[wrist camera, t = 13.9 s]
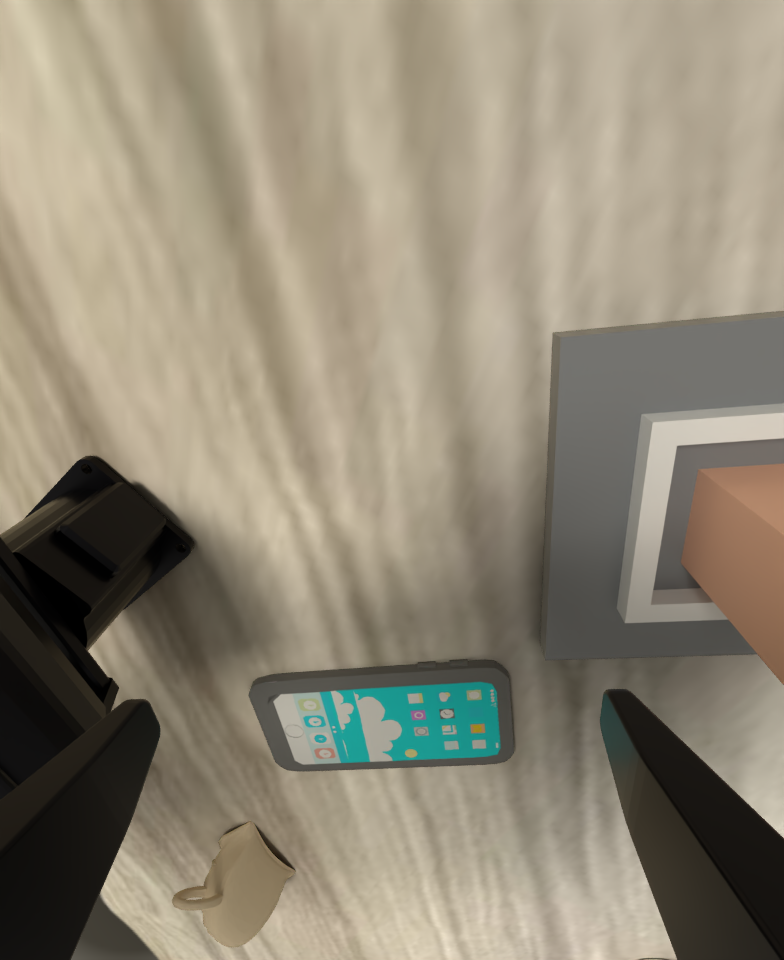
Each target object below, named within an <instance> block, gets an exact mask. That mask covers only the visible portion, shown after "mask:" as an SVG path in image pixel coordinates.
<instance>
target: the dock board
mask: <svg viewBox="0 0 784 960" xmlns="http://www.w3.org/2000/svg"><path fill="white" fill-rule="evenodd" d="M770 464H784V311H778V312H767V313H757V314H746V315H735V316H725V317H714V318H704V319H693V320H682V321H672V322H661V323H650V324H640V325H629V326H619V327H608V328H597V329H587V330H576V331H565V332H555V333H553V340H552V364H551V388H550V413H549V437H548V461H547V485H546V509H545V533H544V557H543V582H542V606H541V630H540V645H541V648H542V651H543V655H544V658H545V660H572V659H608V658H643V657H678V656H713V655H748V654H757V653H756V652H755V650H754V649H753V648H752V647H751V646H750V645H749V643H748V642H747V641H746V640H745V639H744V637H743V636H742V635H741V634H740V633H739V631H738V630H737V629H736V628H735V627H734V626H733V624H732V623H731V622H730V621H729V620H728V618H727V617H726V616H725V615H724V614H723V612H722V611H721V610H720V609H719V608H718V607H717V605H716V604H715V603H714V602H713V601H712V599H711V598H710V597H709V596H708V595H707V593H706V592H705V591H704V590H703V589H702V588H701V586H700V585H699V584H698V583H697V582H696V580H695V579H694V578H693V577H692V576H691V574H690V573H689V572H688V571H687V570H686V569H685V567H684V566H683V565H682V564H681V559H682V553H683V548H684V543H685V537H686V532H687V527H688V521H689V516H690V511H691V506H692V500H693V495H694V490H695V484H696V479H697V474H698V469H709V468H724V467H739V466H754V465H770Z"/></svg>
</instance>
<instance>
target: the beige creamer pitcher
mask: <svg viewBox="0 0 784 960" xmlns="http://www.w3.org/2000/svg"><path fill="white" fill-rule="evenodd" d="M218 843H219V844H220V848H221V851H220V852H219V854H218V855H217V857H216V859H214V860H213V861H212V867H211V869H210V871H209V873H208V875H207V877H206V879H205V882H204V886H197V887H192V888H187V889H184V890H182V891H179V892H178V893H176V894H175V895H174V897H173V899H172V903H173V905H174V906H175V907H176V908H178V909H181V910H202V912H203V924H204V926H205V927H206V928H207V931H208V933H209V934H210V935H211V936H212V937H214V939H215V940H216V941H217V942H219V943H221V944H222V945H224V946H227V947H239V946H241V945H243V944H246V943H247V942H248V941H249V940H251V939H252V938H253V937H254V936H255V935H256V934H257V933H258V932H259V931H260V929H261V928H262V927H263V926H264V924H265V923H266V922H267V920H268V919H269V917H270V915H271V914H272V912H273V910H274V908H275V907H276V905H277V902H278V900H279V897H280V895H281V892H282V890H283V887H284V884H285V882H286V880H287V879H288V878H290V877H291V876H293V875H294V874H295V872H296V871H295V870H293V869H291V868H290V867H288V866H286V865H285V864H283V863H282V862H281V861H280V860H279V859H278V858H277V857H276V856H274V855H273V853H272V852H271V851H270V850H269V849H268V847H267V846H266V844H265V843H264V841H263V839H262V838H261V836H260V834H259V832H258V830H257V828H256V826H255V825H254V823H252V822H251V821H250V822H248V823H246V824H244V825H242V826H241V827H239V828H237V829H235V830H233V831H231V832H229V833H228V834H225V835H223V836H222V837H221V838H220V841H219V842H218ZM193 897H202V899H198V900H186V899H188V898H193Z"/></svg>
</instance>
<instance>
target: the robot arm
mask: <svg viewBox="0 0 784 960" xmlns="http://www.w3.org/2000/svg"><path fill="white" fill-rule="evenodd" d="M87 465H89V466H90V467H91V468H92V470H90V469H89V468H88V467H87ZM180 544H182V545H184V546H185V548H183V547H181V546H180ZM193 549H194V542H193V541H192V540H191V538H189V537H188V536H187V535H186V534H185V533H184V532H182V531H181V530H180V529H179V528H178V527H177V526H175V525H174V524H173V523H172V522H171V521H170V520H168V519H167V518H166V517H165V516H164V515H163V514H161V513H160V512H159V511H158V510H157V509H156V508H154V507H153V506H152V505H151V504H150V503H148V502H147V501H146V500H145V499H144V498H143V497H141V496H140V495H139V494H138V493H137V492H136V491H134V490H133V489H132V488H131V487H130V486H129V485H127V484H126V483H125V482H124V481H123V480H122V479H120V478H119V477H118V476H117V475H116V474H115V473H113V472H112V471H111V470H110V469H109V468H108V467H106V466H105V465H104V464H103V463H102V462H101V461H99V460H98V459H97V458H95V457H93V456H85V457H84V458H82V459H80V460H79V461H77V462H76V463H75V464H74V465H73V466H72V468H71V469H70V470H69V471H68V472H67V473H66V474H65V475H64V476H63V477H62V478H61V479H60V480H59V482H58V483H57V484H56V485H55V486H54V487H53V488H52V489H51V490H50V491H49V492H48V493H47V495H46V496H45V497H44V498H43V499H42V500H41V501H40V502H39V503H38V504H37V505H36V506H35V507H34V509H33V510H32V511H31V512H30V513H29V514H28V515H27V516H26V517H25V518H24V519H23V520H22V521H20V522H19V523H17V524H16V525H14V526H13V527H11V528H10V529H8V530H7V531H5V532H4V533H2V534H1V535H0V960H71V958H72V956H73V953H74V951H75V949H76V947H77V944H78V942H79V940H80V937H81V935H82V933H83V931H84V928H85V926H86V923H87V921H88V919H89V917H90V914H91V912H92V910H93V908H94V905H95V903H96V901H97V899H98V896H99V894H100V892H101V889H102V887H103V885H104V883H105V880H106V878H107V876H108V873H109V871H110V869H111V866H112V864H113V862H114V860H115V857H116V855H117V853H118V850H119V848H120V846H121V844H122V841H123V839H124V837H125V834H126V832H127V830H128V827H129V825H130V822H131V820H132V817H133V814H134V812H135V809H136V806H137V803H138V800H139V797H140V794H141V791H142V788H143V786H144V783H145V780H146V777H147V774H148V771H149V768H150V765H151V762H152V759H153V756H154V753H155V750H156V747H157V744H158V741H159V738H160V725H159V722H158V720H157V718H156V715H155V713H154V711H153V709H152V707H151V704H150V703H149V701H147V700H146V699H131V700H126V701H124V702H123V703H121V704H120V705H119V706H118V707H116V708H115V709H114V710H112V711H111V709H112V707H113V704H114V701H115V698H116V695H117V692H118V690H119V687H118V685H117V684H116V683H115V681H114V680H113V679H112V678H108V677H107V675H106V674H105V673H104V672H103V670H102V669H101V668H100V666H99V665H98V664H97V662H96V661H95V660H94V658H93V657H92V656H91V655H90V653H89V652H88V650H89V649H90V648H91V646H92V645H93V644H94V643H95V642H96V641H97V639H98V638H99V637H100V636H101V635H102V633H103V632H104V631H105V630H106V629H107V628H108V626H109V625H110V624H111V623H112V622H113V621H114V619H115V618H116V617H117V616H118V615H119V613H120V612H121V611H122V610H124V609H125V608H126V607H128V606H129V605H130V604H131V603H132V602H134V601H135V600H136V599H137V598H138V597H139V596H141V595H142V594H143V593H144V592H145V591H147V590H148V589H149V588H150V587H151V586H153V585H154V584H155V583H156V582H157V581H158V580H160V579H161V578H162V577H163V576H164V575H166V574H167V573H168V572H169V571H170V570H172V569H173V568H174V567H175V566H176V565H177V564H179V563H180V562H181V561H182V560H183V559H185V558H186V557H187V556H188V555H189V554H190V553H191V551H192V550H193ZM600 725H601V731H602V736H603V739H604V743H605V747H606V750H607V754H608V758H609V761H610V765H611V769H612V773H613V776H614V780H615V784H616V787H617V791H618V795H619V799H620V802H621V806H622V810H623V813H624V817H625V820H626V823H627V826H628V829H629V832H630V835H631V838H632V840H633V843H634V846H635V848H636V851H637V854H638V856H639V859H640V862H641V864H642V867H643V870H644V872H645V875H646V878H647V880H648V883H649V886H650V888H651V891H652V894H653V896H654V899H655V901H656V904H657V907H658V909H659V912H660V915H661V917H662V920H663V923H664V925H665V928H666V931H667V933H668V936H669V939H670V941H671V944H672V947H673V949H674V952H675V954H676V957H677V960H784V838H783V837H782V836H781V835H780V834H779V833H778V832H777V831H776V830H775V829H774V828H773V827H771V826H770V825H769V824H768V823H767V822H766V821H765V820H764V819H763V818H762V817H761V816H760V815H759V814H758V813H757V812H756V811H755V810H754V809H753V808H752V807H751V806H750V805H749V804H747V803H746V802H745V801H744V800H743V799H742V798H741V797H740V796H739V795H738V794H737V793H736V792H735V791H734V790H733V789H732V788H731V787H730V786H729V785H728V784H727V783H726V782H725V781H723V780H722V779H721V778H720V777H719V776H718V775H717V774H716V773H715V772H714V771H713V770H712V769H711V768H710V767H709V766H708V765H707V764H706V763H705V762H704V761H703V760H702V759H700V758H699V757H698V756H697V755H696V754H695V753H694V752H693V751H692V750H691V749H690V748H689V747H688V746H687V745H686V744H685V743H684V742H683V741H682V740H681V739H680V738H679V737H678V736H676V735H675V734H674V733H673V732H672V731H671V730H670V729H669V728H668V727H667V726H666V725H665V724H664V723H663V722H662V721H661V720H660V719H659V718H658V717H657V716H656V715H655V714H653V713H652V712H651V711H650V710H649V709H648V708H647V707H646V706H645V705H644V704H643V703H642V702H641V701H640V700H639V699H638V698H637V697H636V696H635V695H634V694H633V693H631V692H630V691H628V690H626V689H608V690H606V691H605V692H604V694H603V701H602V709H601V717H600Z"/></svg>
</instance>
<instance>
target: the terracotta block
mask: <svg viewBox="0 0 784 960" xmlns="http://www.w3.org/2000/svg"><path fill="white" fill-rule="evenodd" d="M681 564H682V565H683V566H684V567H685V569H686V570H687V571H688V572H689V573H690V574H691V576H692V577H693V578H694V579H695V580H696V582H697V583H698V584H699V585H700V586H701V588H702V589H703V590H704V591H705V592H706V593H707V595H708V596H709V597H710V598H711V599H712V601H713V602H714V603H715V604H716V605H717V607H718V608H719V609H720V610H721V611H722V612H723V614H724V615H725V616H726V617H727V618H728V620H729V621H730V622H731V623H732V624H733V626H734V627H735V628H736V629H737V630H738V631H739V633H740V634H741V635H742V636H743V637H744V639H745V640H746V641H747V642H748V643H749V645H750V646H751V647H752V648H753V649H754V650H755V652H756V653H757V654H758V655H759V656H760V658H761V659H762V660H763V661H764V662H765V664H766V665H767V666H768V667H769V668H770V669H771V671H772V672H773V673H774V674H775V675H776V677H777V678H778V679H779V680H780V681H781V683H782V684H783V685H784V464H770V465H754V466H739V467H724V468H709V469H698V474H697V479H696V484H695V490H694V495H693V500H692V506H691V511H690V516H689V521H688V527H687V532H686V537H685V543H684V548H683V553H682V559H681Z"/></svg>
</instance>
